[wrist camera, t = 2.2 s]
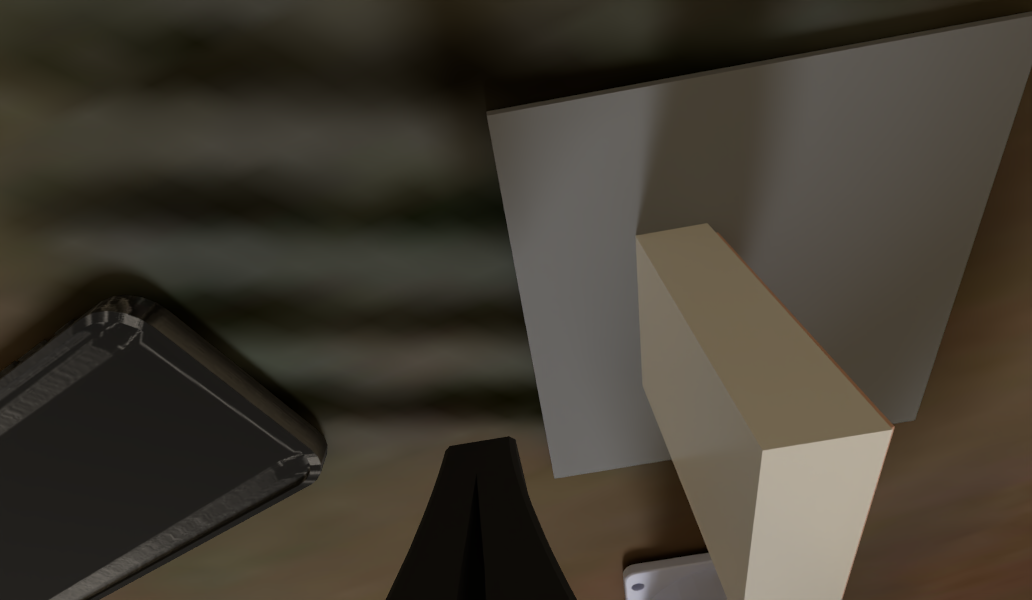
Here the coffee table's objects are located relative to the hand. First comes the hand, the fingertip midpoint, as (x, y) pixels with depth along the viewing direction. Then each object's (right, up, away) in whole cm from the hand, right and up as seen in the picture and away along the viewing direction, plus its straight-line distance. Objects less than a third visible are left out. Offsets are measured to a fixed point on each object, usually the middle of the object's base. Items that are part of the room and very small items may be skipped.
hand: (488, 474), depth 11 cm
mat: (+7, +4, +4) cm, 9 cm away
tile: (+5, +3, +4) cm, 7 cm away
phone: (-13, -2, +7) cm, 15 cm away
